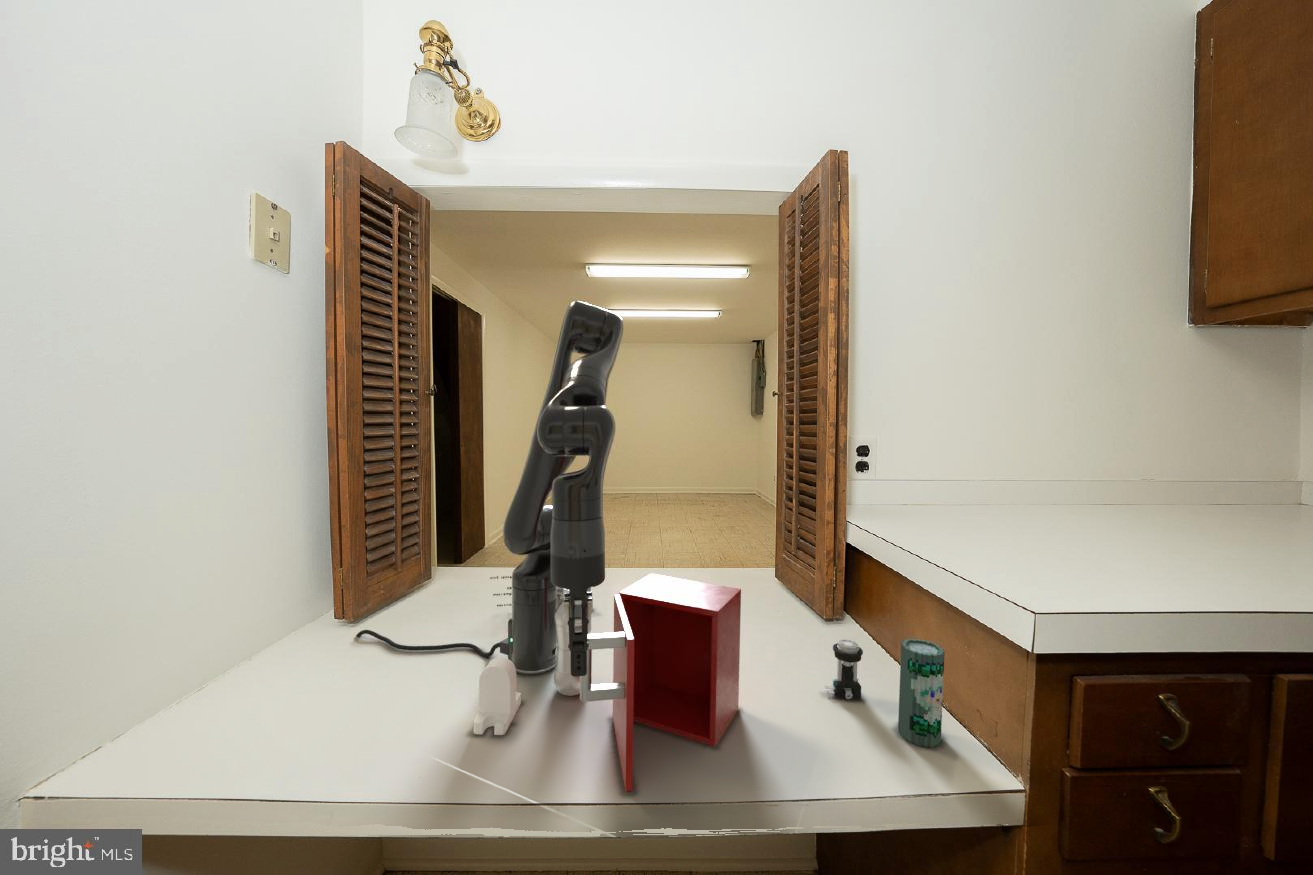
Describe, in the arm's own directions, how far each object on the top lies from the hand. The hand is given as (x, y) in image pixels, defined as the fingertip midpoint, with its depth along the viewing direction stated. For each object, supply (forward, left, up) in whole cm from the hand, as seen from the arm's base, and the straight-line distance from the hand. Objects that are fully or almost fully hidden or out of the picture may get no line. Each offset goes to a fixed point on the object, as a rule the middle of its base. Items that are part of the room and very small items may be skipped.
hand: (578, 670), depth 74 cm
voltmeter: (-46, +49, -17) cm, 69 cm away
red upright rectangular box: (+5, +23, -17) cm, 29 cm away
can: (+43, +36, -17) cm, 59 cm away
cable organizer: (-22, +7, -17) cm, 29 cm away
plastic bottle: (-16, +20, -17) cm, 31 cm away
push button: (+30, +43, -17) cm, 55 cm away
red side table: (-1, +7, -17) cm, 18 cm away
